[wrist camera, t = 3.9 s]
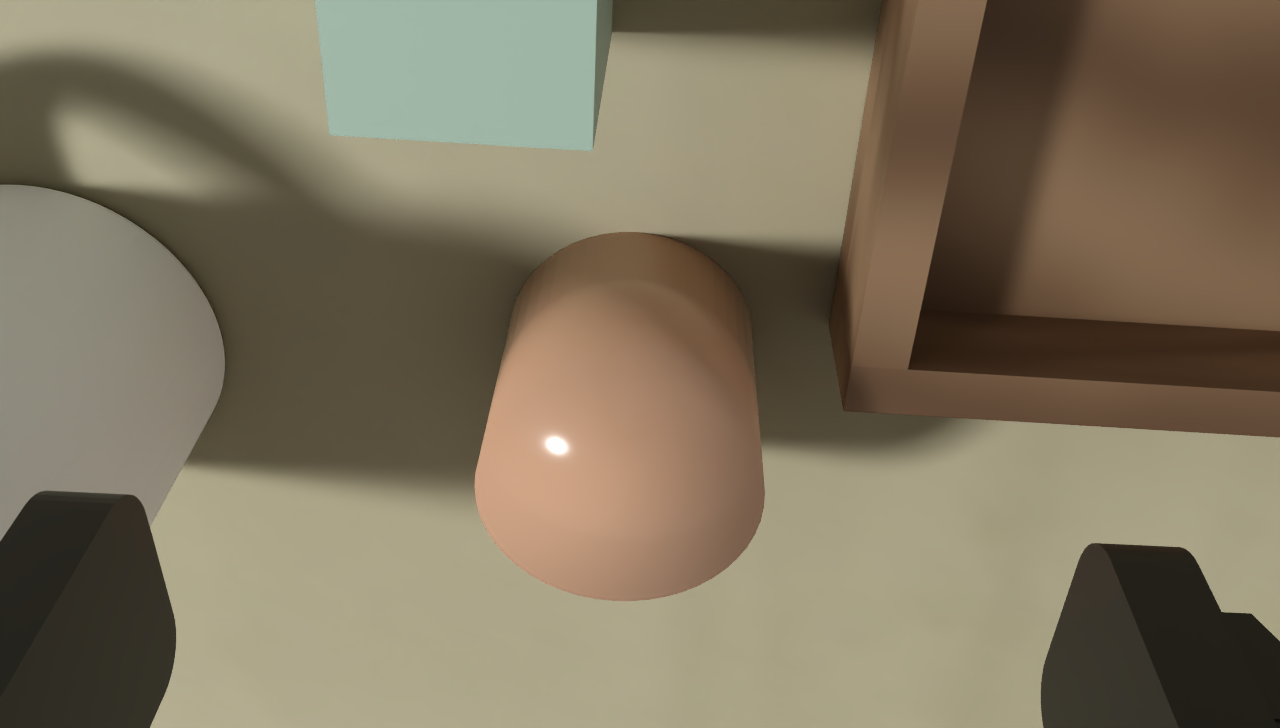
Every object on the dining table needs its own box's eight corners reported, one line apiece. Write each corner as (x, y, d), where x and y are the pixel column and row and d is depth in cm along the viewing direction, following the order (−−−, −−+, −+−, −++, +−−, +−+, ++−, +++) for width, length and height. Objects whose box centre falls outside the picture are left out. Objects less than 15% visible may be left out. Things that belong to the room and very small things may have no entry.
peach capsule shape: (509, 223, 28) (470, 369, 23) (765, 240, 28) (780, 388, 23) (511, 427, 32) (478, 591, 27) (739, 442, 32) (748, 609, 27)
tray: (942, -363, 21) (981, -347, 18) (1761, -315, 21) (1929, -290, 18) (828, 325, 29) (843, 410, 26) (1418, 360, 29) (1497, 450, 26)
